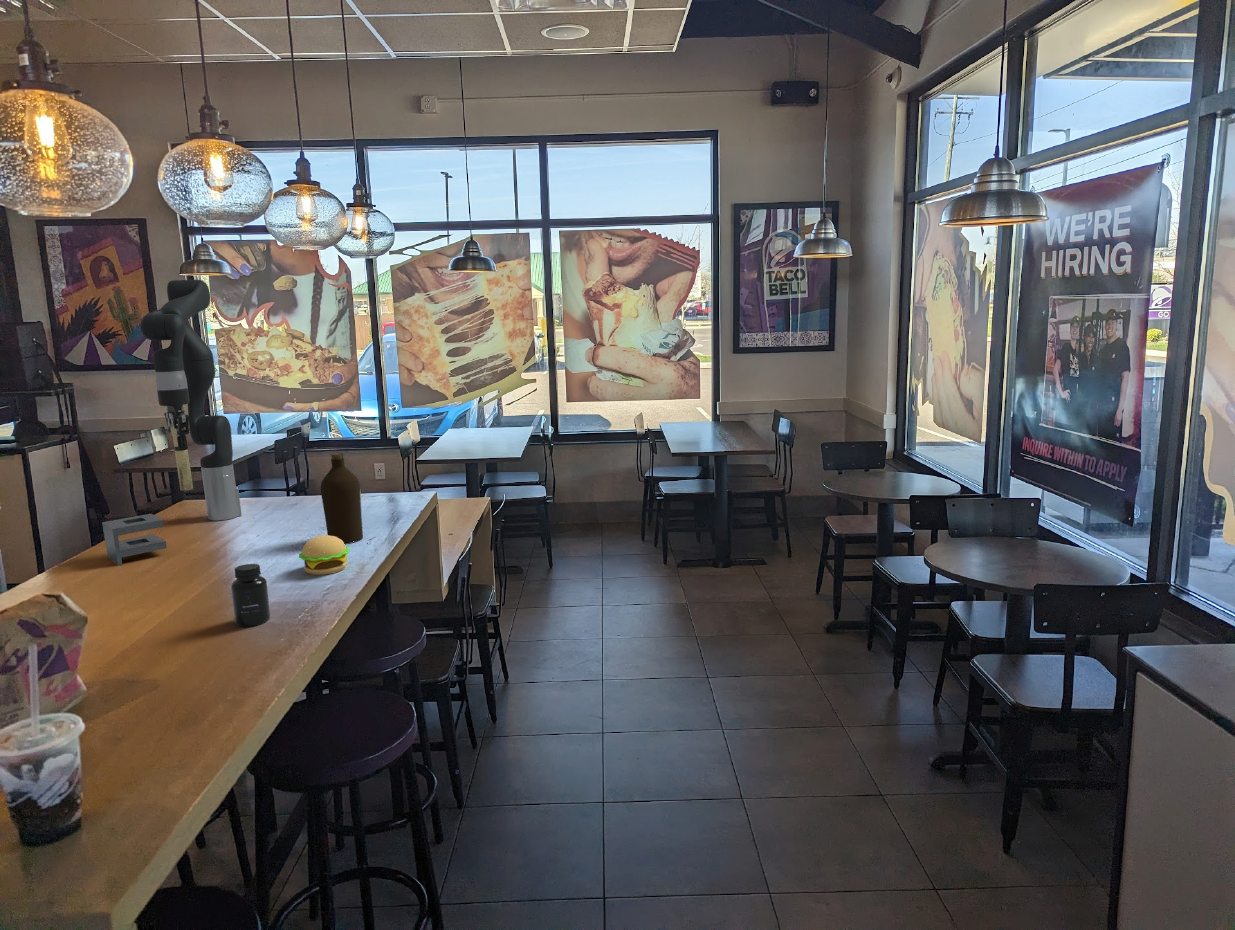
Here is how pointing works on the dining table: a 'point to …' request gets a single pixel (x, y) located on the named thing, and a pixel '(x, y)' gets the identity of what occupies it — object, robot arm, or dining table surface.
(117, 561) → the collar stand
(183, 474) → the brass tube
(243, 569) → the supplement bottle
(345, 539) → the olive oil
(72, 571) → the dining table surface
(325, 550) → the hamburger
